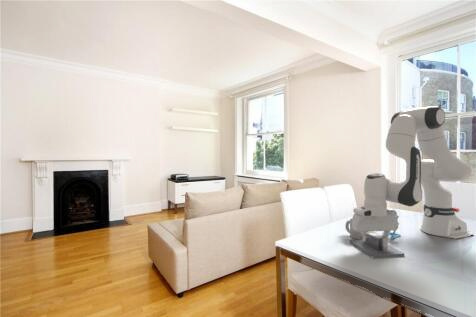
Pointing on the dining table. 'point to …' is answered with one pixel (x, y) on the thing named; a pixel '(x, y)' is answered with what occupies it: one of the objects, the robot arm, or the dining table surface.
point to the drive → (374, 240)
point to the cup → (353, 231)
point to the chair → (394, 232)
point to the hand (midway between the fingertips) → (375, 240)
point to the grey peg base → (372, 252)
